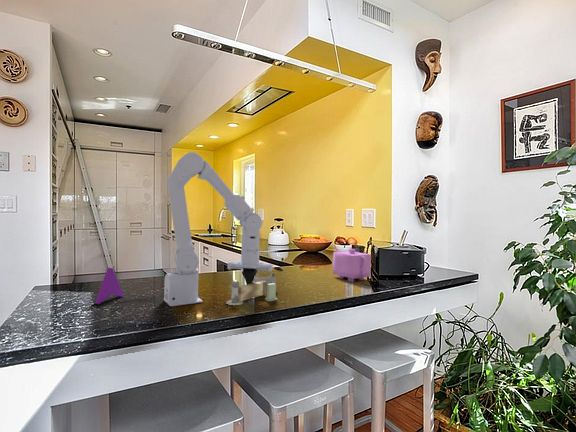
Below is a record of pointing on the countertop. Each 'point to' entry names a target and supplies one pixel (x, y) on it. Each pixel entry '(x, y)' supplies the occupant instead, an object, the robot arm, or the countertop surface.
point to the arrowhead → (109, 287)
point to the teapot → (351, 264)
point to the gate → (252, 290)
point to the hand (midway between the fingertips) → (249, 292)
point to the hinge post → (234, 294)
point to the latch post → (271, 292)
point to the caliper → (266, 279)
